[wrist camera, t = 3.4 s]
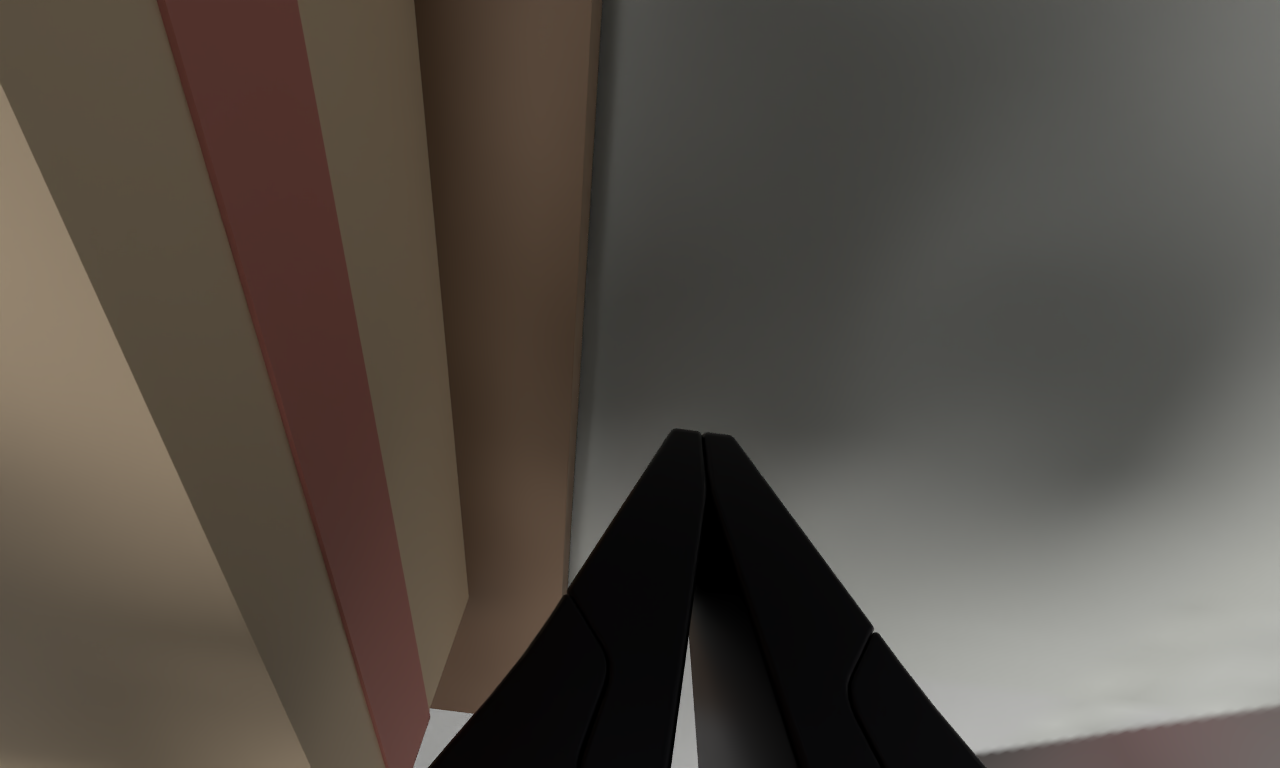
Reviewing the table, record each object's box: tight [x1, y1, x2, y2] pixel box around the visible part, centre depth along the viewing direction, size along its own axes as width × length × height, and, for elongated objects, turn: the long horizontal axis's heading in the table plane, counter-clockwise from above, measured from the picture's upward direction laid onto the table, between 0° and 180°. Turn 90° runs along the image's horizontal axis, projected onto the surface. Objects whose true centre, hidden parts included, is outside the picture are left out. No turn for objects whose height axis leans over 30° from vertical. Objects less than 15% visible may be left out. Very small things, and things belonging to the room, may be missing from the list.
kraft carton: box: [0, 0, 469, 768], centre depth 7 cm, size 9×12×5 cm
